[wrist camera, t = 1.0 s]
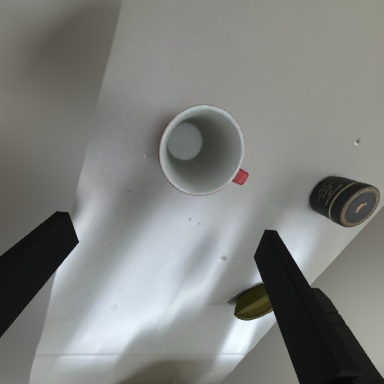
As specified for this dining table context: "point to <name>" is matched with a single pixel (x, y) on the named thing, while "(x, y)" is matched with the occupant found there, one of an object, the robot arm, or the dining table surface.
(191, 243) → the dining table surface
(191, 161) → the mug
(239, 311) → the fruit
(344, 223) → the jar
